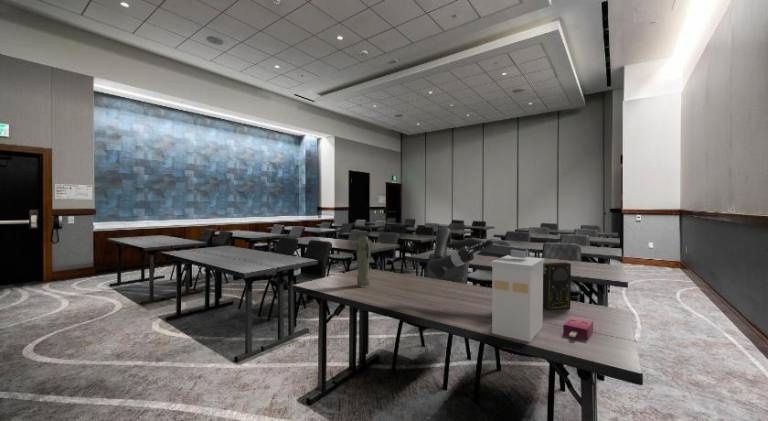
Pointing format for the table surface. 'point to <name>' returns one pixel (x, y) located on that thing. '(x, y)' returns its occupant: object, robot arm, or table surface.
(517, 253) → the cable bar
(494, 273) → the cabinet
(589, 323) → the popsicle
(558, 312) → the table surface
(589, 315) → the table surface
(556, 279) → the voltmeter
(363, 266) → the thermos
